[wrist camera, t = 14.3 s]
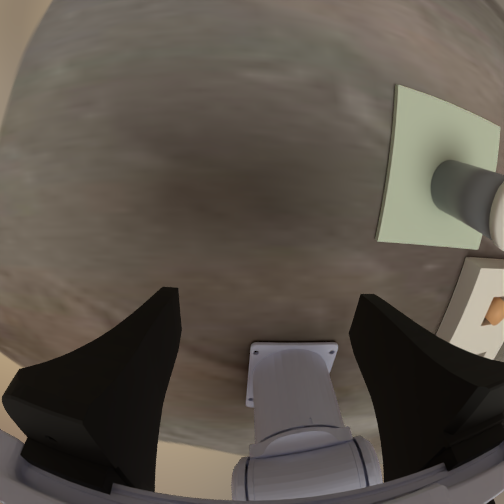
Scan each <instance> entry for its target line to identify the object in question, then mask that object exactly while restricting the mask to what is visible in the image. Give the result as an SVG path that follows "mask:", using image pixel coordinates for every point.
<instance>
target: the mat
mask: <svg viewBox="0 0 504 504" xmlns="http://www.w3.org/2000/svg"><path fill="white" fill-rule="evenodd" d="M499 139H500V127H499V126H497V125H495V124H493V123H491V122H490V121H488V120H486V119H484V118H482V117H480V116H477V115H475V114H473V113H471V112H469V111H467V110H465V109H462V108H460V107H458V106H455V105H453V104H451V103H448V102H446V101H443V100H441V99H438V98H436V97H433V96H430V95H428V94H425V93H422V92H419V91H416V90H413V89H410V88H407V87H404V86H401V85H395V97H394V113H393V125H392V135H391V144H390V153H389V161H388V168H387V175H386V182H385V188H384V194H383V200H382V206H381V211H380V217H379V222H378V227H377V232H376V237H375V239H376V240H377V241H380V242H393V243H406V244H418V245H431V246H442V247H454V248H465V249H476V250H478V248H479V245H480V241H481V238H482V234H481V233H480V232H478V231H476V230H475V229H473V228H471V227H470V226H468V225H466V224H464V223H463V222H461V221H459V220H457V219H456V218H454V217H452V216H450V215H448V214H447V213H445V212H443V211H441V210H440V209H438V208H437V207H436V205H435V204H434V202H433V200H432V196H431V180H432V176H433V174H434V172H435V170H436V168H437V167H438V166H439V165H440V164H441V163H442V162H444V161H446V160H455V161H459V162H462V163H466V164H469V165H473V166H476V167H480V168H483V169H486V170H489V171H492V172H496V166H497V158H498V149H499Z"/></svg>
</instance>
